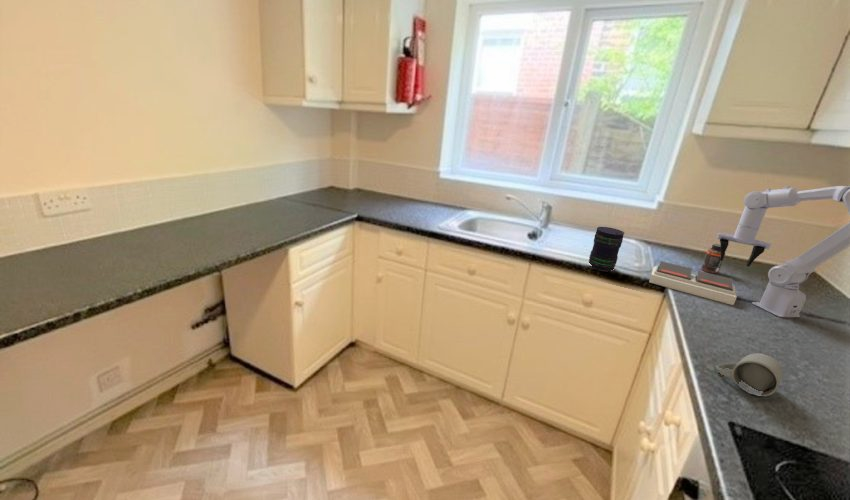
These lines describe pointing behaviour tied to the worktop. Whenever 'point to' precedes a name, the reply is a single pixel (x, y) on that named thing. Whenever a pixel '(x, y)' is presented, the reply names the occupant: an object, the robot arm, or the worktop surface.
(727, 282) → the rocker near
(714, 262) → the supplement bottle
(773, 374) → the ceramic mug
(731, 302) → the rocker switch panel
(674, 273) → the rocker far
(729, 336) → the worktop surface
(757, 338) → the worktop surface
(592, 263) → the storage jar
